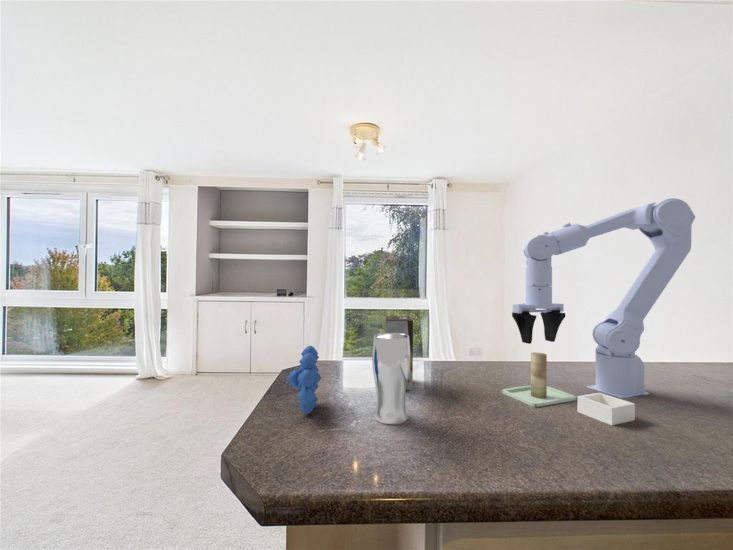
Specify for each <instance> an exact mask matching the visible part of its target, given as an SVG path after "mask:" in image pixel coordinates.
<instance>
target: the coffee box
mask: <svg viewBox="0 0 733 550" xmlns="http://www.w3.org/2000/svg"><path fill="white" fill-rule="evenodd" d="M384 325H385V329H384V330H385V332H384V333H400V334H406V335H408V336H409V343H410V371H409V377H408V383H407V389H406V391H412V390H413V382H414V381H413V380H414V379H413V370H414V368H413V367H414V366H413V365H414V364H413V363H414V359H413V357H414V356H413V355H414V352H413V351H414V320H413V319H412V318H411V316H407V315H406V316H403V315H393V316H391V315H390V316H389V315H388V316H387V315H386V316H385V324H384Z"/></svg>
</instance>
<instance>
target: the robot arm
mask: <svg viewBox="0 0 733 550" xmlns="http://www.w3.org/2000/svg"><path fill="white" fill-rule="evenodd" d="M695 219H696V215H695V214H694V212H693V210H692V208H691V207H690V205H689V204H688V203H687V202H685V200H683V199H679V198H666V199H664V200H662V201H660V202H658V203H656V202H651V203H647V204H644V205H640V206H636V207H633V208H629V209H627V210H625V211H620V212H618V213H617V214H614V215H610V216H607V217H606V218H602V219H600V220H597V221H595V222H593V223H589V224H587V225H581V224H579V223H573V224H571V222H568V223H565V224H563V225H562V226H563V227H561V228H559V229H557V230H553V231H551V232H548V231H545V232H543V233H542V234H539V235H537V236H535V237H533V238H532V239H530V240H528V242H527V243H526V245H525V246H524V249H523V254H524V256H525V257H526V260H525V264H526V267H525V302H524V303H519V304H512V312H511V317H512V318H513V320H514V321H515V323H516V326H517V328H518V330H519V335H520V338H521V342H522V343H524V344H527V345H530V344H532V341H533V331H534V326H535V321H536V319H537V317H538V316H537V315H535V314H531V313H539V314H540V316H541V319H542V323H543V329H544V333H543V334H544V341H547V342H552V343H553V342H556V338H557V335H558V331H559V328H560V326H561V324H562V322H563V321H564V319H565V318H566V313H565V312H564V311H565V310H564V303H556V302H555V303H553V267H552V257H553V255H555V256H559V255H562V254H564V253H569V252H571V251H574V250H577V249H579V248H582V247H585V246H586V245H587V244H588V241H589V240H590V239H592V238H595V237H598V236H602V235H604V234H608V233H611V232H613V231H617V230H619V229H624V228H626V229H629V230H633V231H634V230H639V231H640V232H641V234H642V235H644V236H646V238H647V239H648V240H649V241H650V242H651V244H652V245H653V247H654V249H655V250H654V251H653V253H652V255H651V256H650V258H649V259H648V260H647V262H646V264H645V265H644V267H643V268H642V269H641V271H640V272H639V274H638V276H637V277H636V279H635V280H634V282H633V283H632V285H631V286H630V288H629V290H628V291H627V292H626V294H625V296H624V297H623V299H622V300H621V301H620V303H619V304H618V306H617V308H616V309H615V310H613V311H612V312H610V313H609V314H608V315H607V316H606V317H605V319H604V320H603V321H602V322H601V321H600V322H599V323H598V324H596V325H595V326H594V327H593V329H592V339H593V340H594V342H595V343H596V344H597V347H595V369H594V371H595V373H594V374H595V384H594V385H593V384H592V385H587V386H586V388H588V389H592V390H595V391H598V392H600V393H603V394H606V395H609V396H613V397H614V396H615V397H616V398H619V399H624V398H625V399H626V398H631V397H637V396H641V395H645V396H648V395H650V393H649V392H648V391H645V364H644V362H643V360H642V358H641V357H639V356H638V355H637V354H636V352H637V351H638V349H639V348H640V344H641V343H640V342H641V336H642V334H643V332H644V331H645V325H644V320H645V318H646V317H647V316H648V314H649V312H650V311H651V310H652V308H653V306H654V305H655V304H656V302H657V300H659V297H660V296H661V294H662V293H663V292H664V290H665V289H666V287H667V286H668V284H669V283H670V281H671V280H672V278H673V277H674V276H675V274H676V272H677V271H678V269H679V268H680V267H681V265H682V263H683V262H684V260H686V258H687V256H689V255H688V254H690V252H691V249H692V226H693V223H694V221H695Z"/></svg>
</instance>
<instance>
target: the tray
mask: <svg viewBox="0 0 733 550" xmlns="http://www.w3.org/2000/svg"><path fill="white" fill-rule="evenodd" d="M500 393H501V394H503V395H505V396H508V397H509V398H512V399H514V400H517V401H519V402H522V403H524V404H526V405H529V406H531V407H533V408H539V407H544V406H550V405H556V404H562V403H563V404H564V403H568V402H573V401H577V396H578V395H574V394H571V393H568V392H565V391H563V390H560V389H556V388H553V387H551V386H548V385H547V398H544V399H541V398H535V397H533V396H531V384H530V385H524V386H523V385H522V386H515V387H511V388H504V389H500Z"/></svg>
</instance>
